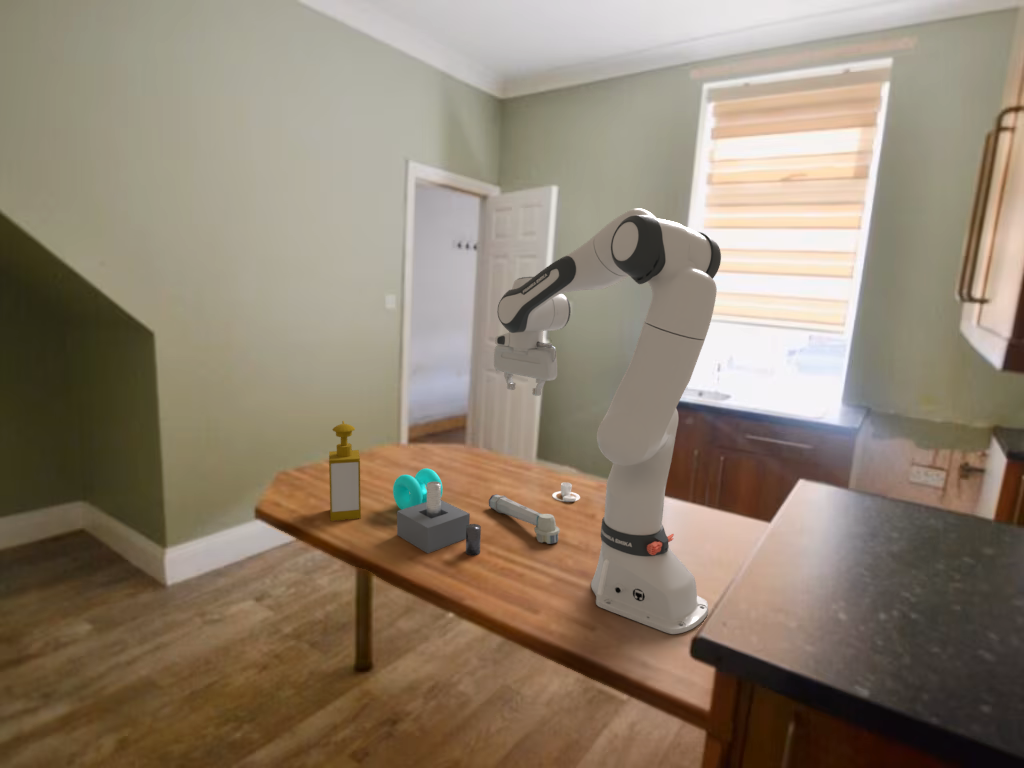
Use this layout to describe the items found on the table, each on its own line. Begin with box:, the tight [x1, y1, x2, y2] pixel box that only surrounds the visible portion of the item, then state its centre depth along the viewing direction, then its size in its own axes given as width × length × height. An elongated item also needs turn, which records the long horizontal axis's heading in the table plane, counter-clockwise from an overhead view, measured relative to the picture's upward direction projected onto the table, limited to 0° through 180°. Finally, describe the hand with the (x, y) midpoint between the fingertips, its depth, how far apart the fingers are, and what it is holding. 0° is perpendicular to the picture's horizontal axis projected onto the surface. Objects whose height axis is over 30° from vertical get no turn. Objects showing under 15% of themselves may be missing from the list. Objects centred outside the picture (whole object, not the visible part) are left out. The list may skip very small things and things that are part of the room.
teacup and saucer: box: [551, 482, 581, 503], centre depth 158 cm, size 9×8×4 cm
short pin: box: [465, 523, 482, 557], centre depth 124 cm, size 3×3×6 cm
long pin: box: [426, 482, 442, 519], centre depth 130 cm, size 3×3×13 cm
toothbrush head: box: [488, 494, 561, 545], centre depth 139 cm, size 5×7×25 cm
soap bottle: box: [328, 420, 362, 522], centre depth 142 cm, size 7×13×24 cm, turn 18°
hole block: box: [396, 499, 471, 554], centre depth 130 cm, size 12×12×6 cm
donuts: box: [392, 467, 444, 510], centre depth 146 cm, size 10×10×10 cm
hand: (523, 392), depth 147 cm, fingers open, 8 cm apart
